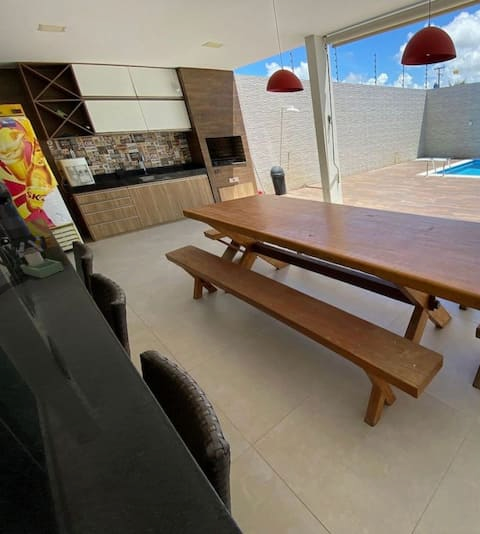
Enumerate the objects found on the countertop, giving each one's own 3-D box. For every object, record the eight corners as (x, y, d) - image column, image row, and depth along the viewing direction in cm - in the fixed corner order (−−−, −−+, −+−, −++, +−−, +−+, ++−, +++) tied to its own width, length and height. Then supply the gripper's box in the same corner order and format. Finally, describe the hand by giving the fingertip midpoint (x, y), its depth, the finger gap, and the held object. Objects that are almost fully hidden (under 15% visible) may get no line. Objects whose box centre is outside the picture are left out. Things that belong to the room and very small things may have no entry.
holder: (41, 278, 133) (37, 270, 131) (24, 273, 139) (19, 265, 138) (64, 270, 140) (60, 262, 138) (47, 265, 146) (43, 258, 144)
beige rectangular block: (35, 274, 138) (25, 255, 134) (29, 272, 140) (19, 254, 136) (51, 268, 142) (41, 251, 138) (45, 267, 144) (35, 249, 140)
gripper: (31, 220, 139) (50, 254, 146) (-13, 231, 127) (10, 267, 135) (40, 221, 136) (58, 256, 143) (-5, 232, 124) (18, 269, 132)
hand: (35, 261), depth 139 cm, fingers closed on beige rectangular block, 5 cm apart
